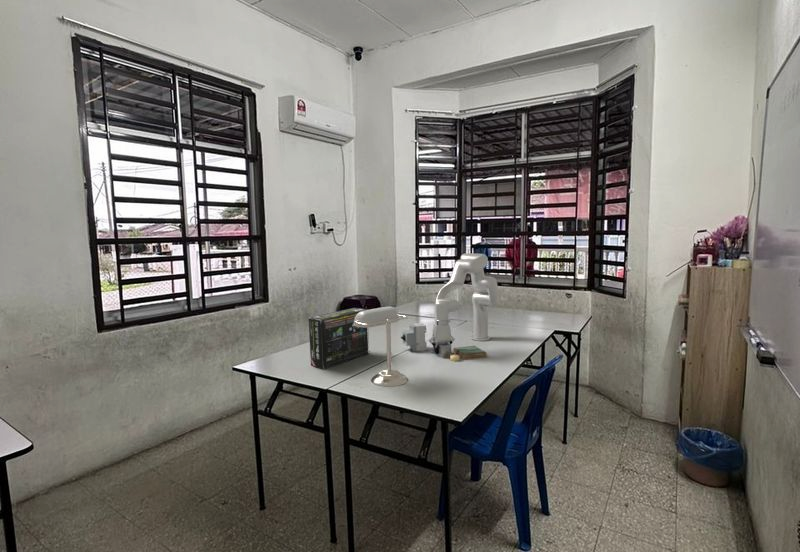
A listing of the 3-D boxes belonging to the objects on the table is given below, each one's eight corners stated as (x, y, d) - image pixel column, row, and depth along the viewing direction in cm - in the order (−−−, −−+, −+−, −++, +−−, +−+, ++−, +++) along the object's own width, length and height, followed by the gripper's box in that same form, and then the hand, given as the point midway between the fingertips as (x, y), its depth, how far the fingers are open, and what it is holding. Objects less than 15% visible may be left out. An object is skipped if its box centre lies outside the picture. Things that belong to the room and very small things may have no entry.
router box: (356, 350, 251) (354, 307, 248) (369, 353, 244) (368, 309, 241) (308, 365, 224) (306, 316, 221) (322, 370, 217) (320, 319, 214)
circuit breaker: (400, 349, 253) (399, 324, 252) (422, 346, 258) (421, 323, 256) (404, 352, 246) (403, 327, 244) (426, 350, 250) (426, 325, 249)
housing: (432, 353, 244) (432, 341, 243) (441, 351, 246) (441, 340, 246) (442, 358, 234) (442, 346, 233) (451, 356, 236) (451, 344, 236)
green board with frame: (453, 352, 244) (453, 347, 244) (474, 350, 248) (474, 345, 248) (463, 359, 231) (463, 354, 231) (486, 356, 235) (486, 351, 235)
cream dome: (448, 359, 232) (448, 355, 232) (457, 358, 234) (457, 354, 233) (452, 362, 227) (452, 357, 227) (460, 361, 229) (460, 356, 229)
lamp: (389, 366, 221) (388, 303, 218) (421, 377, 203) (421, 309, 200) (348, 378, 203) (346, 310, 200) (380, 392, 186) (378, 317, 182)
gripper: (453, 320, 244) (453, 349, 246) (425, 322, 239) (425, 352, 241) (458, 322, 237) (458, 353, 239) (430, 325, 232) (430, 356, 234)
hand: (441, 352), depth 240 cm, fingers closed on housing, 6 cm apart
